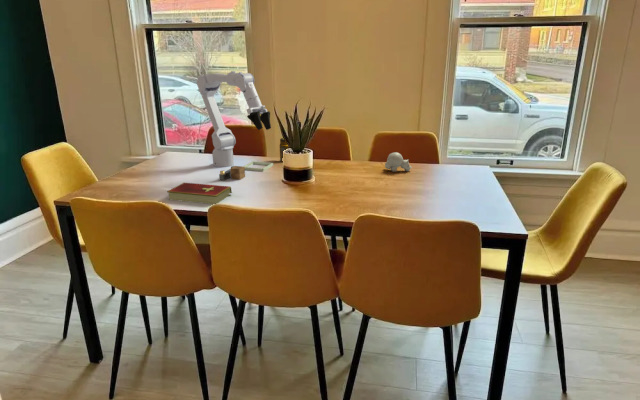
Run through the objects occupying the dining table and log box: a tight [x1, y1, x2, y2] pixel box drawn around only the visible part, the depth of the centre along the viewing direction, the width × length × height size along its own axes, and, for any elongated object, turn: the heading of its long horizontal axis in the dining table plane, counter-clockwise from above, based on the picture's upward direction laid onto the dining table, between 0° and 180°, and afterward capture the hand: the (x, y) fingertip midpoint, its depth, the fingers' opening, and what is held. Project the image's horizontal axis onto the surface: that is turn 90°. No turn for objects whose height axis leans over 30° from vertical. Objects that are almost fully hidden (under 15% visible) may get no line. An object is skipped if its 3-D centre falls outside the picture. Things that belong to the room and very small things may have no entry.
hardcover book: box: [166, 182, 233, 205], centre depth 169 cm, size 12×21×4 cm, turn 74°
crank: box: [218, 165, 236, 182], centre depth 192 cm, size 13×4×4 cm, turn 160°
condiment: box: [279, 137, 288, 162], centre depth 216 cm, size 7×8×12 cm
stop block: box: [229, 165, 246, 181], centre depth 190 cm, size 4×4×5 cm
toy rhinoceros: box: [384, 151, 413, 173], centre depth 199 cm, size 7×12×8 cm, turn 79°
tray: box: [242, 161, 274, 172], centre depth 206 cm, size 11×11×2 cm
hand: (264, 129), depth 187 cm, fingers open, 7 cm apart
